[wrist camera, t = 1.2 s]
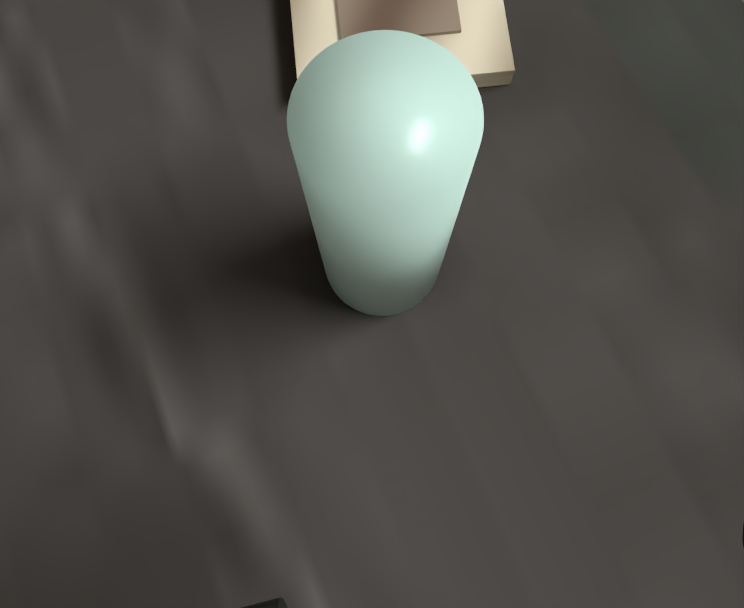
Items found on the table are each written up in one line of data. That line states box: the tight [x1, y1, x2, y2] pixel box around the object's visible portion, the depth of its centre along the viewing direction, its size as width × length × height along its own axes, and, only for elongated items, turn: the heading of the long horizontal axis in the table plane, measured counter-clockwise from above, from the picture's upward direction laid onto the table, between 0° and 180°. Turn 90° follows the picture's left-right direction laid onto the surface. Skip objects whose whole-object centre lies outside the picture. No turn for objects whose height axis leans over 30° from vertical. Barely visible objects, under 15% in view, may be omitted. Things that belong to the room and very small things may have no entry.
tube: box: [287, 30, 484, 316], centre depth 24 cm, size 5×5×13 cm
